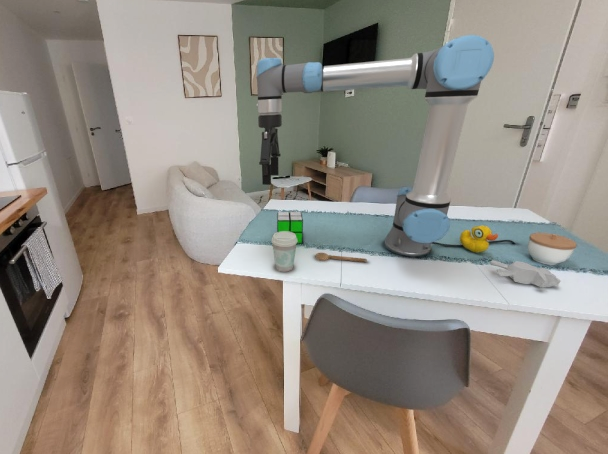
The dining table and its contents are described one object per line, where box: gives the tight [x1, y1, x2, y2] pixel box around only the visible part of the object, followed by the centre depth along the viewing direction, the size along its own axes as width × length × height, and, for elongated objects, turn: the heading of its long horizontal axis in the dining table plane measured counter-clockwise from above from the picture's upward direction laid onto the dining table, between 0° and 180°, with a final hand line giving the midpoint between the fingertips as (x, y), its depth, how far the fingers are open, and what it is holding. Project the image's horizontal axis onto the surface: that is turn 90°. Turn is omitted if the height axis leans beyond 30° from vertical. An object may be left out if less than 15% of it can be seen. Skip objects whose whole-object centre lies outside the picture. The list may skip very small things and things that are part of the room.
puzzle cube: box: [276, 211, 304, 244], centre depth 119 cm, size 10×10×10 cm
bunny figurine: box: [489, 259, 561, 288], centre depth 86 cm, size 10×5×15 cm
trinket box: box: [527, 232, 578, 266], centre depth 94 cm, size 11×11×9 cm
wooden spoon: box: [315, 252, 368, 263], centre depth 102 cm, size 17×4×1 cm, turn 73°
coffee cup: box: [271, 231, 298, 273], centre depth 97 cm, size 8×8×12 cm
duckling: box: [459, 225, 499, 253], centre depth 102 cm, size 11×5×10 cm, turn 17°
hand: (270, 179), depth 101 cm, fingers open, 13 cm apart
